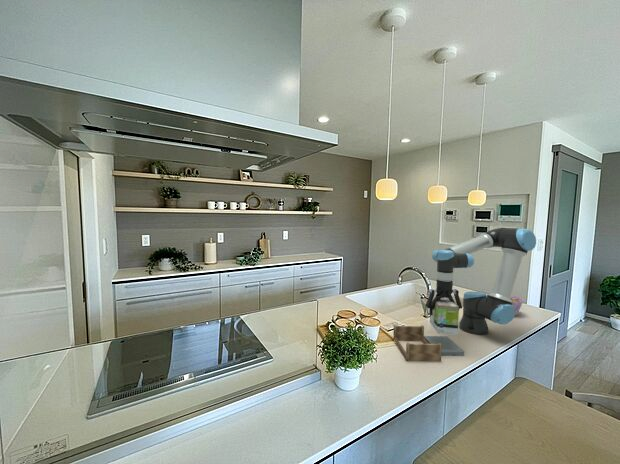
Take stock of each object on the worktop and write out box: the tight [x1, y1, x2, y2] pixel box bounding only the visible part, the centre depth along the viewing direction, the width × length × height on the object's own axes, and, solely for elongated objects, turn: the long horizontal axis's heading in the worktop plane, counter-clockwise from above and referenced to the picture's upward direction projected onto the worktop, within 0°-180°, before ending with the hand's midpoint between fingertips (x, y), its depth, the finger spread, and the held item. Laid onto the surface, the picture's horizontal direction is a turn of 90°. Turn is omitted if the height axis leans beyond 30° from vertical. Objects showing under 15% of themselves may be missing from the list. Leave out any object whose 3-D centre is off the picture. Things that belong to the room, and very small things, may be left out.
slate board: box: [424, 335, 465, 357], centre depth 137 cm, size 13×17×2 cm
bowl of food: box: [510, 295, 524, 315], centre depth 185 cm, size 20×20×12 cm
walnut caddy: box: [392, 324, 442, 362], centre depth 134 cm, size 17×22×8 cm
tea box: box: [429, 296, 460, 336], centre depth 136 cm, size 15×10×15 cm, turn 169°
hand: (443, 321), depth 136 cm, fingers closed on tea box, 11 cm apart
